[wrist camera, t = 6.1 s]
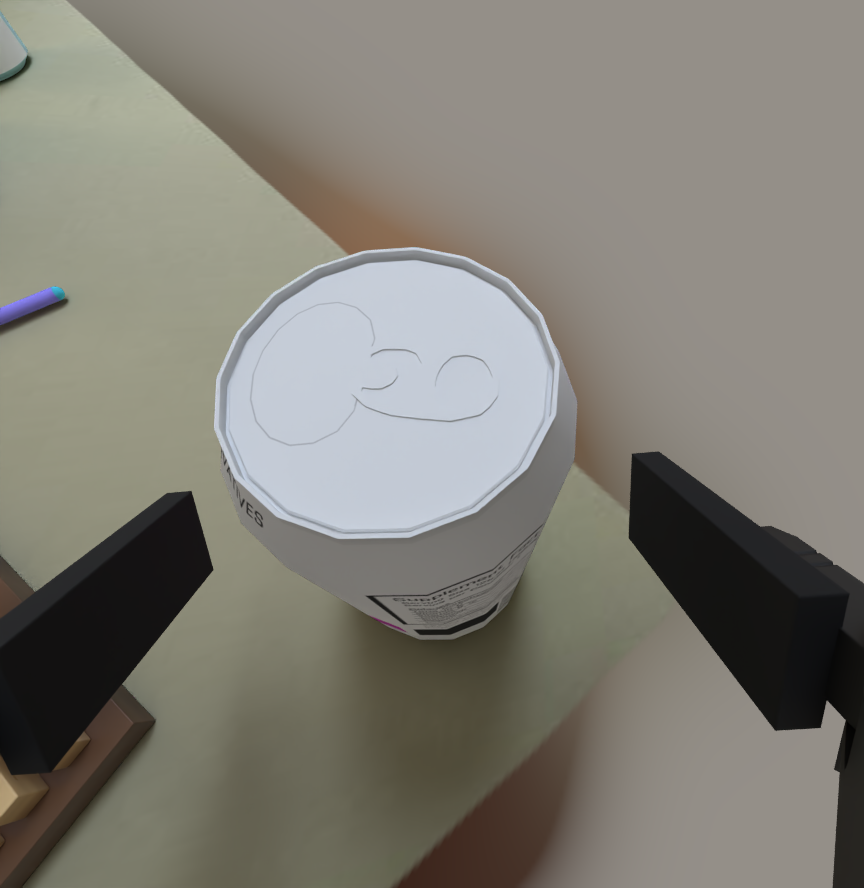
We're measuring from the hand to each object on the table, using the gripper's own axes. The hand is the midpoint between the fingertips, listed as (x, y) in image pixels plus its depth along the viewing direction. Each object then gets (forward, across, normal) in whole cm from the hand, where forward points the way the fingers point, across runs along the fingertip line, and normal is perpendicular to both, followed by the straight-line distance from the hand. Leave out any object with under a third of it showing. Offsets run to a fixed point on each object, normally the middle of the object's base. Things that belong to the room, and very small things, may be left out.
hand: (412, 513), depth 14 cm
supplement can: (+8, 0, -6) cm, 10 cm away
